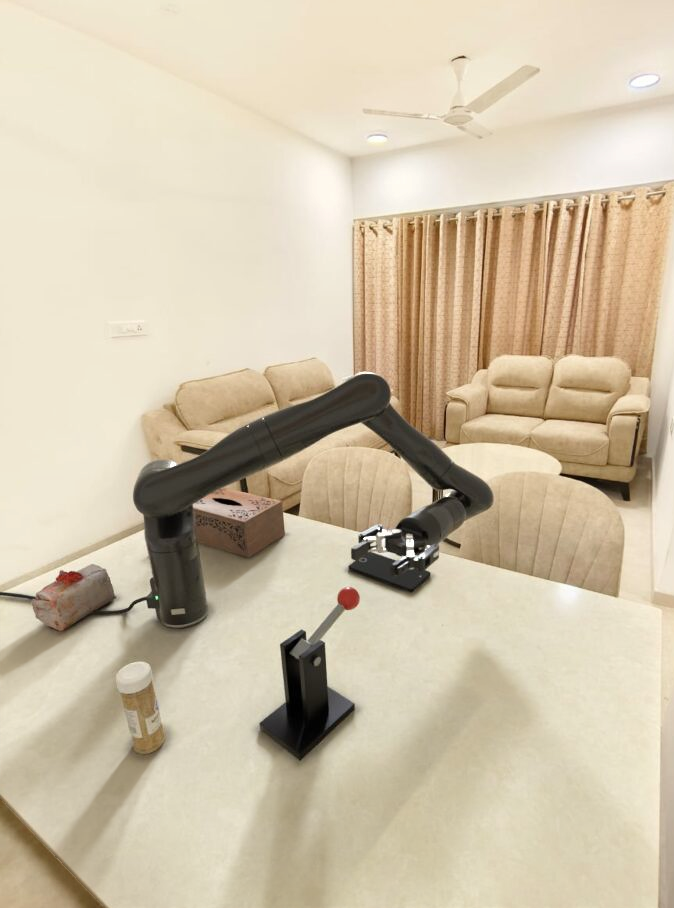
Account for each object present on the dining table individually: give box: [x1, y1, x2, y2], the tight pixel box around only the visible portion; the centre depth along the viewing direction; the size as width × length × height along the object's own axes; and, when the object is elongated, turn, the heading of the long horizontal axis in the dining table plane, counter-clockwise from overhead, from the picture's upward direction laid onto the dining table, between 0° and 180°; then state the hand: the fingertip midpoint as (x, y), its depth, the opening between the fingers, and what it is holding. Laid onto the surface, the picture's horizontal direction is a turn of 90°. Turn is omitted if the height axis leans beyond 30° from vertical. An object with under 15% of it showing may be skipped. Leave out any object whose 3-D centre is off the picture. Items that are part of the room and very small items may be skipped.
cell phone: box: [347, 551, 431, 593], centre depth 118 cm, size 9×18×1 cm, turn 55°
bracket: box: [258, 629, 356, 762], centre depth 76 cm, size 12×9×15 cm
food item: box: [29, 563, 117, 632], centre depth 103 cm, size 14×8×10 cm, turn 154°
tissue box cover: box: [193, 487, 286, 559], centre depth 136 cm, size 26×14×10 cm, turn 61°
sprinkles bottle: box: [115, 661, 166, 755], centre depth 73 cm, size 5×5×14 cm
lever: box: [290, 586, 361, 664], centre depth 77 cm, size 14×4×4 cm, turn 141°
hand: (371, 563), depth 83 cm, fingers open, 8 cm apart
